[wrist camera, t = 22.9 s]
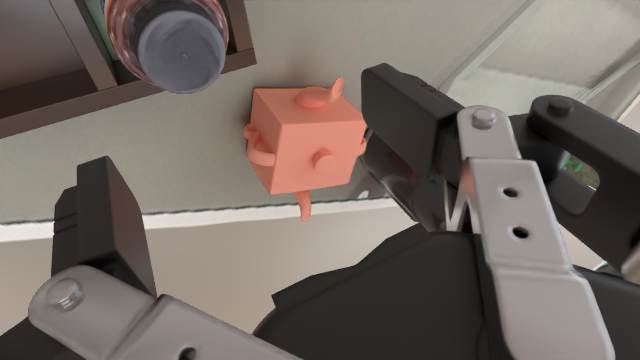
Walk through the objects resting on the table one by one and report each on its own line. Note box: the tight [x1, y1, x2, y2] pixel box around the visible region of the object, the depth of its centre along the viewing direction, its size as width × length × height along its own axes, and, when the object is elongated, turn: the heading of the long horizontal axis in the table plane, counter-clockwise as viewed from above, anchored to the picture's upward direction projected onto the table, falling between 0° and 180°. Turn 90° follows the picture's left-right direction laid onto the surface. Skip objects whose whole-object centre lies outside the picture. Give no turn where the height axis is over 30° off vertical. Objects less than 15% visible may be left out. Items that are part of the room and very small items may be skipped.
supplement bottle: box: [100, 0, 229, 94], centre depth 21 cm, size 6×6×11 cm
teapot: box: [243, 77, 367, 222], centre depth 34 cm, size 12×15×8 cm
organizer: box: [0, 0, 257, 139], centre depth 22 cm, size 10×20×5 cm, turn 95°
